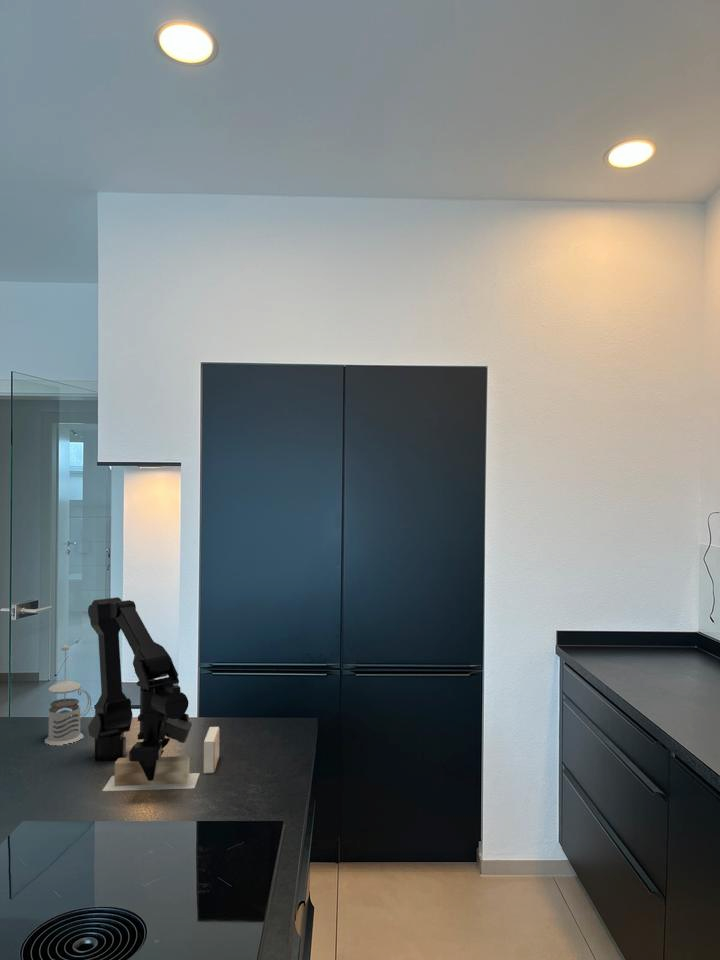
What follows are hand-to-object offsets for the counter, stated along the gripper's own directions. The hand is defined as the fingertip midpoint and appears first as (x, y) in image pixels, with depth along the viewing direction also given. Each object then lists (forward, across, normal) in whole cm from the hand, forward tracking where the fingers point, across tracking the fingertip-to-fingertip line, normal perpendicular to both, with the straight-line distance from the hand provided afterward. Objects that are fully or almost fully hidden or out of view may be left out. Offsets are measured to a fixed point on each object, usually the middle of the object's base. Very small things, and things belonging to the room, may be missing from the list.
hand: (152, 777), depth 154 cm
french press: (+2, +31, +29) cm, 42 cm away
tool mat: (+2, 0, 0) cm, 2 cm away
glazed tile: (+2, +9, -12) cm, 15 cm away
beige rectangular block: (+1, 0, 0) cm, 1 cm away
